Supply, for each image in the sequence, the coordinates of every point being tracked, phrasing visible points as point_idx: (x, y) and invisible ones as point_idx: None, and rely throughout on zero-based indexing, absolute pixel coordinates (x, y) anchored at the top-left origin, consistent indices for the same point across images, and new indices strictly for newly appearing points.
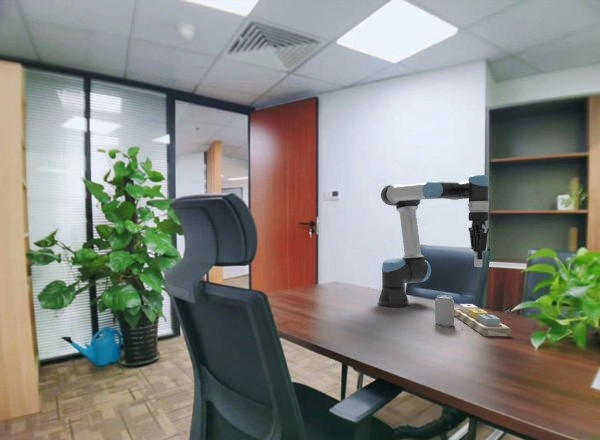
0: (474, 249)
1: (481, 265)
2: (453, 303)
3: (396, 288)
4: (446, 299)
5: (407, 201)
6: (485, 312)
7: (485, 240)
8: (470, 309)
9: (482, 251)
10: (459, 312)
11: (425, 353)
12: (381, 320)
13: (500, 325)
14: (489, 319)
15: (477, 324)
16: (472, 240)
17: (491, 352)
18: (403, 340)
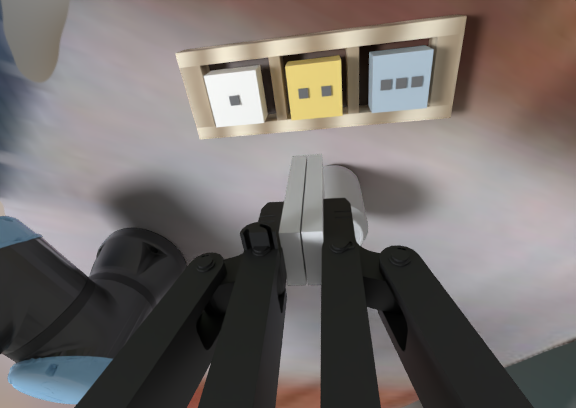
0: (284, 300)
1: (322, 166)
2: (357, 206)
3: (152, 300)
4: (361, 236)
5: None
6: (337, 71)
7: (508, 398)
8: (298, 115)
9: (365, 250)
10: (264, 133)
11: (534, 271)
12: (313, 303)
13: (416, 38)
14: (427, 91)
15: (402, 121)
16: (187, 399)
17: (573, 142)
18: (452, 290)
